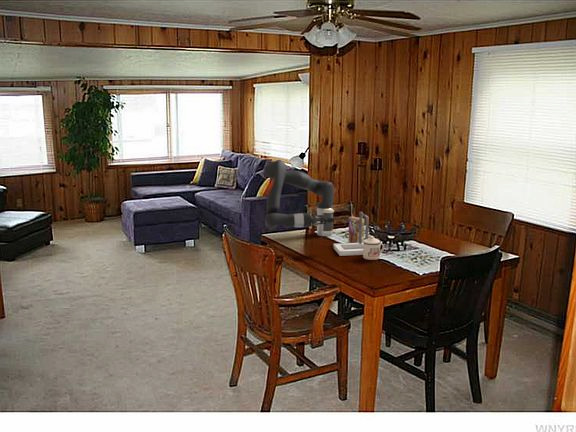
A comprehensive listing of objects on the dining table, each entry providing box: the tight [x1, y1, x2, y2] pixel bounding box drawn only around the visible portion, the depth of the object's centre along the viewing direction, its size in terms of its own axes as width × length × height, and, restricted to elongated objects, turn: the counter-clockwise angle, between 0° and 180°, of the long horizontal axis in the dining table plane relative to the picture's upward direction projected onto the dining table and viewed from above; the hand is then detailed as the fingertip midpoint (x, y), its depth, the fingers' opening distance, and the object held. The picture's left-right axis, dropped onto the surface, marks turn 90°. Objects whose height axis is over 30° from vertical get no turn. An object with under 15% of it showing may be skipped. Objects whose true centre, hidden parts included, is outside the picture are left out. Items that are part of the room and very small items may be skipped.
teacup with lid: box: [362, 235, 385, 261], centre depth 297 cm, size 12×9×12 cm
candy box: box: [347, 216, 365, 243], centre depth 326 cm, size 9×4×15 cm, turn 39°
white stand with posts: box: [333, 211, 370, 257], centre depth 309 cm, size 16×20×21 cm
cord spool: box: [322, 208, 335, 234], centre depth 306 cm, size 6×6×12 cm
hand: (332, 218), depth 306 cm, fingers closed on cord spool, 5 cm apart
